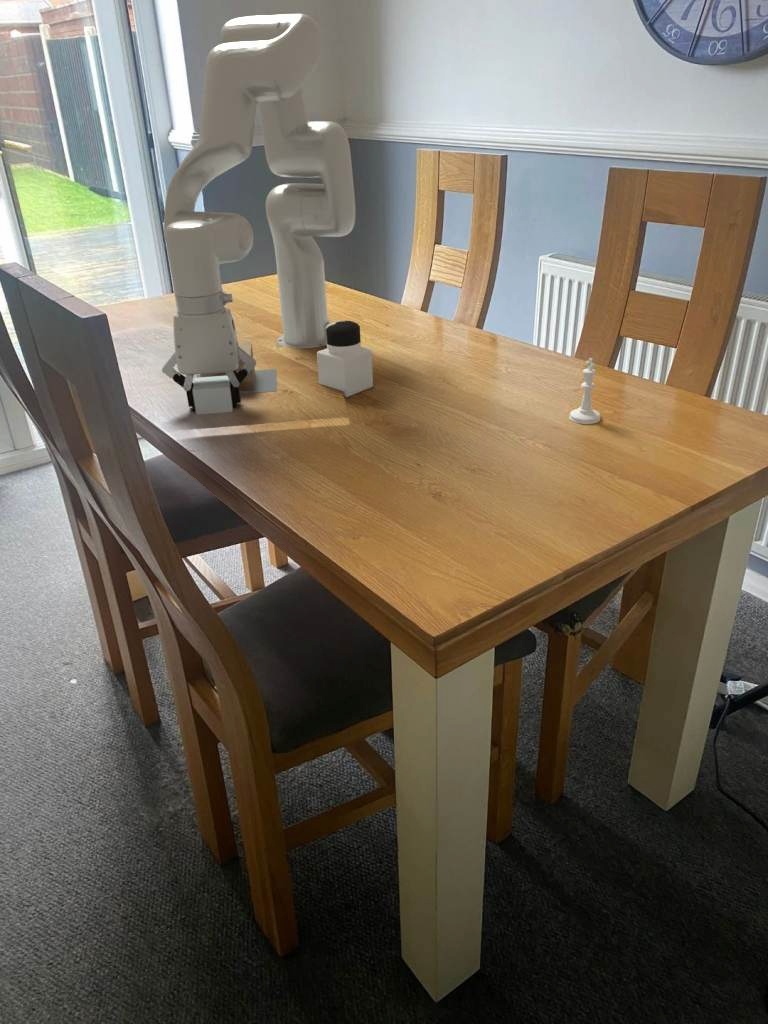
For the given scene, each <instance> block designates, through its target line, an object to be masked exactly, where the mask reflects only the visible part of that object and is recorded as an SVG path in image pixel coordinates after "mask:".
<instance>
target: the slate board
mask: <svg viewBox="0 0 768 1024" xmlns="http://www.w3.org/2000/svg"><path fill="white" fill-rule="evenodd" d="M200 377H201V375H200V374H196V377H195V378H200ZM277 377H278V376H277V368H273V369H271V368H270V369H258V370H255V387H254V390H246V391H240V395H247V394H259V393H260V394H261V393H273V392H277V391H278V383H277V381H278V379H277Z"/></svg>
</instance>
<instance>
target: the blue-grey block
mask: <svg viewBox="0 0 768 1024" xmlns="http://www.w3.org/2000/svg"><path fill="white" fill-rule="evenodd" d="M193 383H194V385H193V390H192V391H193V397H194V403H195V409H196V411H195V414H196V415H209V414H218V413H219V414H220V413H231V412H233V411H234V408H233V406H232V398H231V391H230V386H231V382H230V380H229V378H228V377H227V376H214V377H200V378H196V377H195V378H194V382H193Z"/></svg>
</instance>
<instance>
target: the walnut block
mask: <svg viewBox="0 0 768 1024" xmlns="http://www.w3.org/2000/svg"><path fill="white" fill-rule="evenodd" d="M252 345H253V344H252V341H250V342H249V341H248V342H238V346H239V347H240V348H241V349H242V350H244V351H245V352H246V353H247V354H249V355H250V356H251V357H252V358H253V359H254V352H253V346H252ZM244 365H245V363H244V362H243V361H242V360H241V359H240V361H239V367H238V368H237V369H236V372H237V373H238V372H239V370H240V369H241V368H242V367H243V366H244ZM199 375H201V377H214V376H227V375H226V373H225V372H223V373H210V374H199ZM254 387H255V367H254V368H253V369H252V370H251V371H250V372H249V373H248V374H247V376H246V377H245V379H244V380H243V381H242V382H241V383H240V384H239V390H240V391H246V390H254Z"/></svg>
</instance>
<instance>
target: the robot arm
mask: <svg viewBox="0 0 768 1024" xmlns="http://www.w3.org/2000/svg"><path fill="white" fill-rule="evenodd" d="M220 42H221V44H218V45H216V46H214V47H213V48H212V49H211V50H210V52H209V53H208V54H207V58H206V63H205V72H204V79H203V80H204V82H203V91H202V92H203V93H202V101H201V112H200V120H199V121H200V122H199V131H198V132H199V133H198V134H199V135H198V139H197V142H196V143H195V145H194V146H193V148H192V149H190V151H189V152H188V154H186V156H185V157H184V158H183V160H182V161H181V163H180V164H179V166H178V167H177V169H176V170H175V172H174V174H173V176H172V177H171V179H170V182H169V183H168V187H167V191H166V196H165V206H164V214H163V215H164V216H163V235H164V242H165V244H166V251H167V252H166V253H167V256H168V263H169V264H168V265H169V268H170V269H169V270H170V275H171V276H170V277H171V283H172V288H173V293H174V294H173V296H174V300H175V301H174V302H175V307H176V310H175V311H174V312H173V321H172V322H173V326H172V327H173V329H172V331H173V343H174V352H173V354H172V355H171V356H170V358H169V359H168V360H167V361H166V362H165V364H164V365H163V367H162V369H161V371H162V373H163V375H164V374H165V376H168V378H170V379H172V380H173V382H175V383H176V385H177V384H178V385H179V386H180V387H182V388H183V390H184V392H186V397H187V403H188V408H191V407H192V412H193V413H194V412H195V413H196V409H195V403H194V397H193V391H192V390H193V385H194V382H193V380H194V376H195V375H196V376H197V375H200V374H210V373H223V372H225V373H226V375H227V377H228V378H229V380H230V382H231V386H230V391H231V398H232V406H233V409H237V407H238V404H241V401H242V400H241V399H242V398H241V394H240V390H239V384H240V383H241V382H242V381H243V380H244V379H245V377H246V376H247V374H248V373H249V372H250V371H251V370H252V369H253V368H255V367H256V366H257V360H256V359H255V358H254V357H253V358H252V357H251V356H250V355H249V354H247V353H246V352H245V351H244V350H242V349H241V348H240V347H239V346H238V343H239V342H238V336H237V332H236V331H237V330H236V325H235V321H234V317H233V314H232V312H231V309H230V307H229V306H226V305H227V304H230V303H233V302H234V299H233V293H227V292H225V291H224V289H223V284H222V279H221V278H222V277H221V270H220V265H223V264H226V263H228V264H229V263H234V262H238V261H241V260H242V259H244V258H245V257H247V256H248V255H249V253H250V252H251V250H252V248H253V244H254V232H253V227H252V225H251V224H250V222H249V221H248V219H246V218H245V217H244V216H242V215H241V214H237V213H234V212H223V211H222V212H219V211H218V212H216V211H195V208H196V204H197V201H198V200H199V199H198V198H199V197H200V194H201V193H202V191H203V190H204V188H205V187H206V186H207V185H208V184H210V182H211V181H213V180H214V179H215V178H217V177H219V176H220V175H221V174H223V173H226V172H227V171H228V170H230V169H232V168H234V167H235V166H237V165H239V164H242V163H243V162H244V161H246V160H247V159H248V158H249V157H250V156H251V154H252V150H253V141H254V132H255V131H254V130H255V123H256V122H255V121H256V114H257V113H256V112H257V108H258V114H259V115H258V116H259V121H260V128H261V135H262V140H263V141H262V142H263V147H264V152H265V158H266V162H267V165H268V168H269V170H270V171H271V173H273V175H276V176H278V177H282V178H297V179H298V178H304V179H305V178H306V179H307V178H308V179H309V178H310V179H311V178H312V179H313V178H315V179H316V178H317V179H318V178H319V179H321V181H322V183H302V182H301V183H284V184H280V185H277V186H275V187H274V188H272V189H271V190H270V191H269V193H268V195H267V196H266V199H265V213H266V219H267V222H268V225H269V231H270V232H271V237H272V241H273V246H274V252H275V253H274V255H275V262H276V275H277V285H278V294H279V304H280V313H281V326H282V333H283V334H282V335H280V336H279V337H278V338H277V339H276V346H277V347H279V348H281V347H286V348H291V349H310V348H311V349H312V348H318V347H323V346H327V342H326V327H327V325H329V324H330V323H331V322H330V318H329V317H328V305H327V291H326V277H325V275H326V274H325V261H324V260H325V259H324V256H323V253H322V251H321V249H320V247H319V246H318V243H317V242H316V241H315V240H314V237H328V238H337V237H338V238H339V237H340V238H341V237H345V236H347V235H349V234H350V233H351V232H352V231H353V229H354V227H355V223H356V214H357V213H356V212H357V211H356V197H355V187H354V176H353V165H352V153H351V147H350V143H349V139H348V136H347V133H346V132H345V129H344V128H343V127H342V126H341V125H340V124H338V123H337V122H334V121H330V120H329V121H328V120H327V121H326V120H319V121H317V120H315V121H313V120H312V121H310V120H309V118H308V115H307V110H306V104H305V103H306V102H305V95H304V91H303V85H305V83H306V82H307V80H309V78H310V77H311V75H313V74H314V72H315V70H316V69H317V67H318V65H319V62H320V60H321V57H322V54H323V53H322V51H323V40H322V33H321V30H320V27H319V25H318V23H317V22H316V21H315V20H314V19H313V18H312V17H311V16H310V15H308V14H305V13H283V14H282V13H281V14H270V15H269V14H261V15H248V16H240V17H236V18H232V19H230V20H229V21H227V22H225V24H224V25H223V26H222V27H221V30H220ZM240 359H241V360H242V361H243V362H244V363H245V365H244V366H243V367H242V368H241V369H240V370H239V372H238V373H237V372H236V369H237V368H238V367H239V361H240ZM175 366H177V367H176V368H177V369H178V370H176V369H175Z"/></svg>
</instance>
